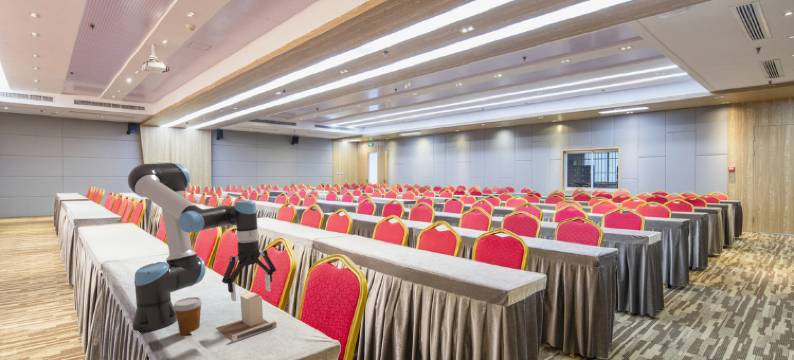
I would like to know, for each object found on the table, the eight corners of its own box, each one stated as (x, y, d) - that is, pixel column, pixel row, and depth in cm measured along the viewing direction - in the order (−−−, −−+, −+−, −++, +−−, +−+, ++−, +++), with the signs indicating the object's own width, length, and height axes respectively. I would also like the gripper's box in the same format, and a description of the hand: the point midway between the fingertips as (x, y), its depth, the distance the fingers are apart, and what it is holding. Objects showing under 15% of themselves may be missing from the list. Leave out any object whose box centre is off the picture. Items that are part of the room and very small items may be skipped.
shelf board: (215, 331, 146) (215, 322, 146) (257, 318, 157) (256, 310, 157) (233, 346, 134) (232, 336, 133) (276, 331, 145) (276, 321, 145)
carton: (241, 320, 152) (240, 295, 151) (254, 316, 155) (253, 292, 155) (250, 326, 146) (248, 300, 146) (263, 322, 150) (261, 296, 149)
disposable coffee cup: (197, 324, 153) (195, 295, 152) (208, 331, 147) (206, 299, 146) (171, 333, 146) (168, 302, 145) (181, 340, 140) (179, 307, 139)
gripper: (217, 248, 138) (221, 307, 139) (282, 236, 155) (286, 288, 156) (210, 245, 143) (214, 302, 144) (273, 234, 160) (277, 285, 161)
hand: (251, 295), depth 150 cm, fingers open, 13 cm apart
